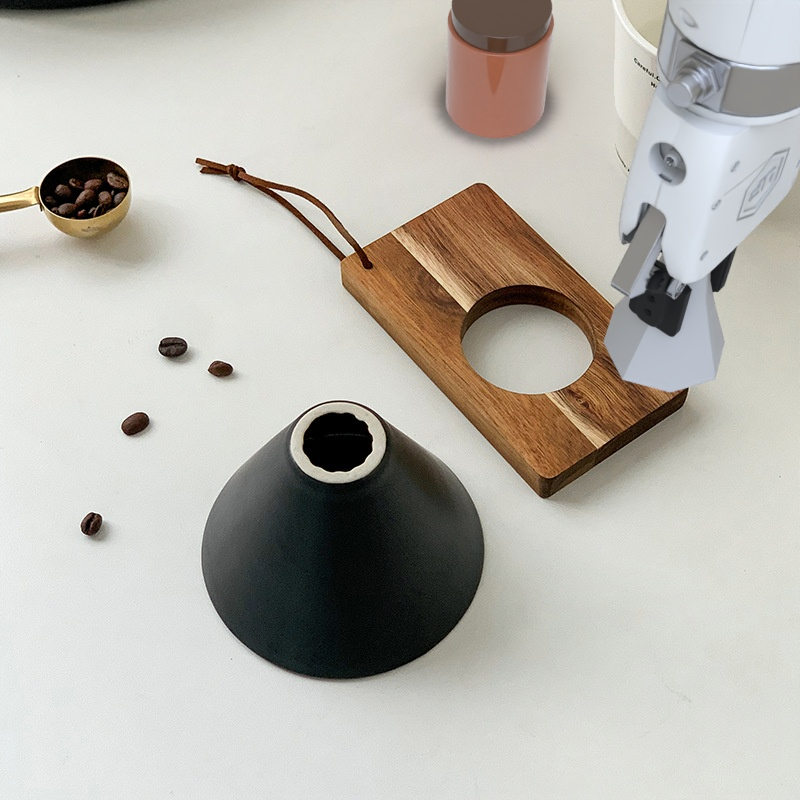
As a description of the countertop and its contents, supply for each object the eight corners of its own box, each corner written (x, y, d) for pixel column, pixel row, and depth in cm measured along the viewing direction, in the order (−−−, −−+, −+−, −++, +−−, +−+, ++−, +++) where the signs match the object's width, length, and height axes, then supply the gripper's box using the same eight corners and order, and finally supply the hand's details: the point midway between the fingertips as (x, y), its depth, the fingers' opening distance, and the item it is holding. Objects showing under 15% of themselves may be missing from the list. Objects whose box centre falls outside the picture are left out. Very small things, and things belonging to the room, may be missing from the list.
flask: (607, 395, 70) (631, 288, 62) (598, 297, 74) (619, 185, 66) (731, 395, 70) (772, 288, 61) (715, 297, 74) (752, 184, 65)
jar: (525, 67, 112) (535, -39, 103) (557, 132, 107) (571, 28, 98) (433, 86, 111) (434, -19, 101) (462, 153, 106) (466, 49, 97)
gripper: (707, 187, 48) (641, 427, 64) (918, -12, 55) (812, 250, 70) (561, 101, 51) (532, 350, 66) (778, -79, 57) (705, 186, 73)
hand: (676, 296), depth 68 cm, fingers closed on flask, 3 cm apart
